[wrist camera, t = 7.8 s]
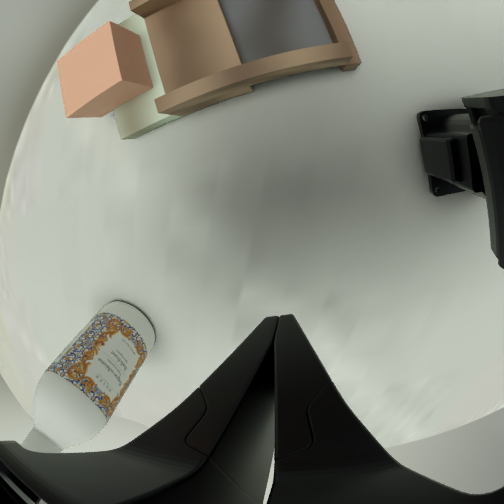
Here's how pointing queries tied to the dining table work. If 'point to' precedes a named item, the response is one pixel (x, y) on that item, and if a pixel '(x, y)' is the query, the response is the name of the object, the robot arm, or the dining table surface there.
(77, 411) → the bath foam
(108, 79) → the block
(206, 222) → the dining table surface
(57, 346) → the dining table surface
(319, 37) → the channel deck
